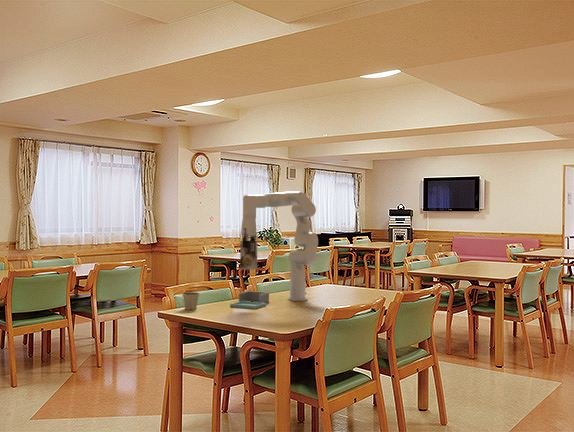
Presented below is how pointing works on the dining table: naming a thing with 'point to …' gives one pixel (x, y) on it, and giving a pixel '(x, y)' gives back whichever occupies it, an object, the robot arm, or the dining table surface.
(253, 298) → the bay
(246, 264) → the coffee box
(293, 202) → the robot arm
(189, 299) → the flower pot
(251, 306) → the tray
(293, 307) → the dining table surface
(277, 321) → the dining table surface
